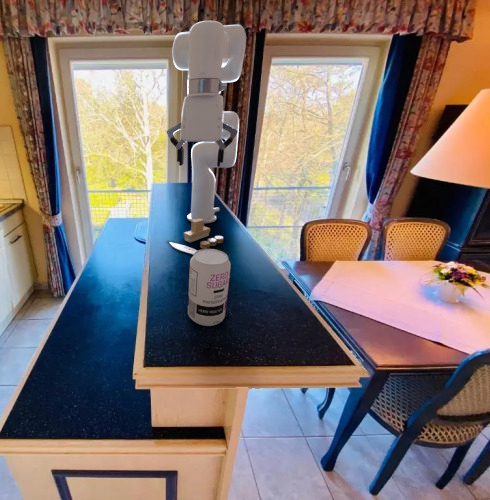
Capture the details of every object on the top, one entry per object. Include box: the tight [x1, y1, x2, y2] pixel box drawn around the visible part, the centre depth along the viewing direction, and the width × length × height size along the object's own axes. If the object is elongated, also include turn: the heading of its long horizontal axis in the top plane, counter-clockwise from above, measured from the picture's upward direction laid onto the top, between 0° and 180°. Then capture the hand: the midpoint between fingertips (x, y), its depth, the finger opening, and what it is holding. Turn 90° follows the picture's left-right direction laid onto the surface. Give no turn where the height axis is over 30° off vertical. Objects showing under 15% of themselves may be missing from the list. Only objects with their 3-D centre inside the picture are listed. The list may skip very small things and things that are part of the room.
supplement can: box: [187, 248, 232, 327], centre depth 60 cm, size 8×8×15 cm
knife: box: [169, 241, 231, 279], centre depth 88 cm, size 30×2×8 cm
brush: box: [183, 218, 211, 243], centre depth 102 cm, size 11×3×7 cm, turn 129°
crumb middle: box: [206, 237, 218, 247], centre depth 98 cm, size 3×3×2 cm
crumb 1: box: [199, 240, 211, 249], centre depth 96 cm, size 3×3×2 cm
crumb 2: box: [213, 235, 224, 244], centre depth 100 cm, size 3×3×2 cm
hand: (199, 165), depth 73 cm, fingers open, 9 cm apart
